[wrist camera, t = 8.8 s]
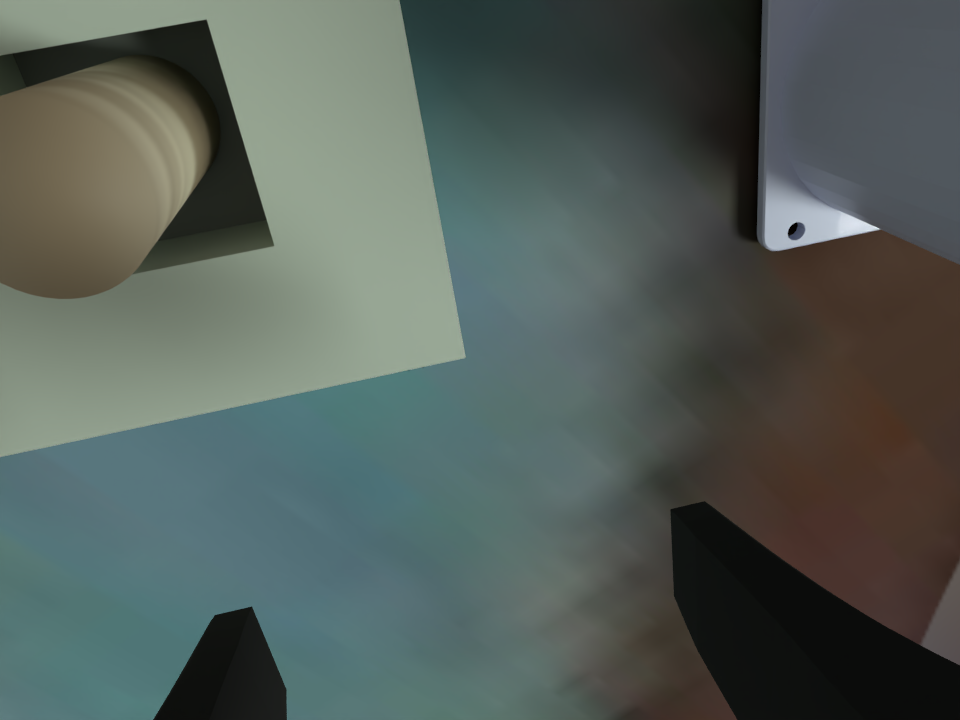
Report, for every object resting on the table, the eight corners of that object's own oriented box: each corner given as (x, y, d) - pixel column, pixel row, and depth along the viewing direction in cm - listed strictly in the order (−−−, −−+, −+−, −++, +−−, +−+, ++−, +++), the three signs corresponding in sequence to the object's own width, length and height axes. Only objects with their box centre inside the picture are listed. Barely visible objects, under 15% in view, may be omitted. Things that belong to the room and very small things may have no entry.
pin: (208, 53, 16) (131, 93, 10) (230, 187, 18) (172, 292, 12) (65, 56, 16) (-105, 99, 10) (98, 192, 17) (-33, 305, 11)
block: (351, -211, 15) (352, -254, 13) (450, 311, 21) (465, 357, 18) (-254, -117, 14) (-389, -142, 12) (18, 400, 20) (-32, 463, 17)
